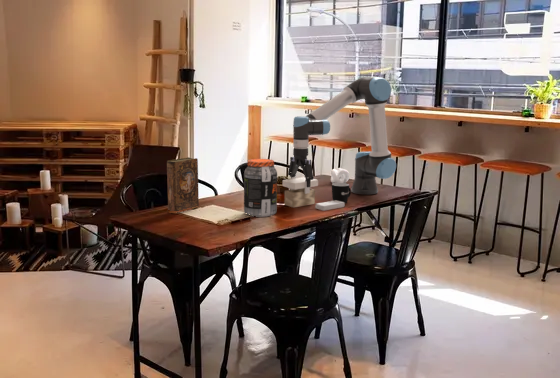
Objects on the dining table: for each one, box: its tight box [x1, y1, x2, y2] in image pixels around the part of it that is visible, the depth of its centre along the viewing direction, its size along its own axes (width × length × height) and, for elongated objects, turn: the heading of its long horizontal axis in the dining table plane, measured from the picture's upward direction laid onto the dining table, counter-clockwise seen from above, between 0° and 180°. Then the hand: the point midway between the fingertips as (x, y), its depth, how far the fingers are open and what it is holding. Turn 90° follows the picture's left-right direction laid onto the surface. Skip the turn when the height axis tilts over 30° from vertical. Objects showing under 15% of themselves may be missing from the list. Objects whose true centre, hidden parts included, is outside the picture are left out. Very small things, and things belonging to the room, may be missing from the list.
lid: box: [282, 176, 319, 190], centre depth 289 cm, size 15×10×4 cm, turn 128°
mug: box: [331, 182, 352, 204], centre depth 297 cm, size 12×9×10 cm
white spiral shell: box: [330, 167, 350, 184], centre depth 349 cm, size 11×12×9 cm
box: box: [284, 188, 316, 208], centre depth 291 cm, size 14×7×8 cm, turn 128°
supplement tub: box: [243, 158, 278, 218], centre depth 272 cm, size 16×16×26 cm
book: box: [166, 156, 200, 211], centre depth 276 cm, size 16×6×25 cm, turn 145°
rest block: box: [314, 200, 346, 212], centre depth 285 cm, size 14×6×3 cm, turn 128°
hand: (300, 191), depth 290 cm, fingers closed on lid, 10 cm apart
